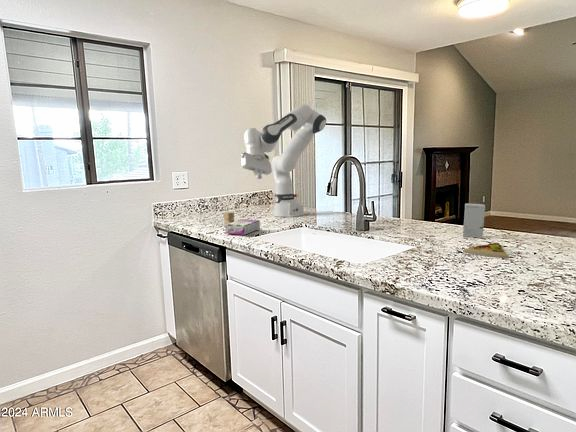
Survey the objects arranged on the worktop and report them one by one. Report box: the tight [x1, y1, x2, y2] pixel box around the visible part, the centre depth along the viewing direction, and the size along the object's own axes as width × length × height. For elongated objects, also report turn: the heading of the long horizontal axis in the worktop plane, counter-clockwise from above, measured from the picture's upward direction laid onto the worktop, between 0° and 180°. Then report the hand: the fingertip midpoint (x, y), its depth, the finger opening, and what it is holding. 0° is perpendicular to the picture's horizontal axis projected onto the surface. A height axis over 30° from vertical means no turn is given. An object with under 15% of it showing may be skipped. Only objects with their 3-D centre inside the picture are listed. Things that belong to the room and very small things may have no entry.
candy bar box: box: [224, 218, 261, 236], centre depth 198 cm, size 11×5×16 cm
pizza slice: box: [462, 242, 509, 259], centre depth 149 cm, size 16×21×3 cm
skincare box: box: [462, 203, 486, 239], centre depth 174 cm, size 8×6×15 cm
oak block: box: [223, 211, 235, 228], centre depth 215 cm, size 4×4×8 cm
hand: (259, 178), depth 209 cm, fingers closed
